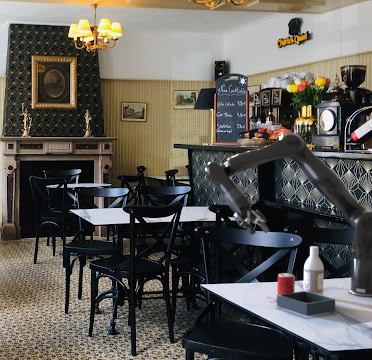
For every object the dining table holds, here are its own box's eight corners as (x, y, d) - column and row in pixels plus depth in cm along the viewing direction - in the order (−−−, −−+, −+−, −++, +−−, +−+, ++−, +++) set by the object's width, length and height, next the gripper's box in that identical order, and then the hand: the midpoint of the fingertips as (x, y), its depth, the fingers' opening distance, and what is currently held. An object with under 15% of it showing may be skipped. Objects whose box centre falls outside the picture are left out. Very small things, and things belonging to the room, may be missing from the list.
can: (285, 299, 229) (286, 272, 228) (297, 302, 223) (298, 275, 223) (273, 300, 227) (274, 273, 226) (285, 304, 221) (286, 277, 220)
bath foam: (316, 301, 226) (317, 249, 225) (299, 297, 232) (300, 246, 230) (326, 298, 230) (328, 247, 228) (310, 294, 235) (311, 244, 234)
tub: (304, 304, 222) (304, 290, 221) (335, 313, 209) (335, 299, 209) (276, 308, 216) (277, 294, 216) (306, 318, 204) (306, 304, 204)
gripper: (231, 196, 235) (255, 228, 227) (254, 194, 243) (278, 225, 235) (220, 208, 240) (243, 240, 231) (243, 206, 248) (266, 236, 239)
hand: (260, 232), depth 233 cm, fingers open, 8 cm apart
